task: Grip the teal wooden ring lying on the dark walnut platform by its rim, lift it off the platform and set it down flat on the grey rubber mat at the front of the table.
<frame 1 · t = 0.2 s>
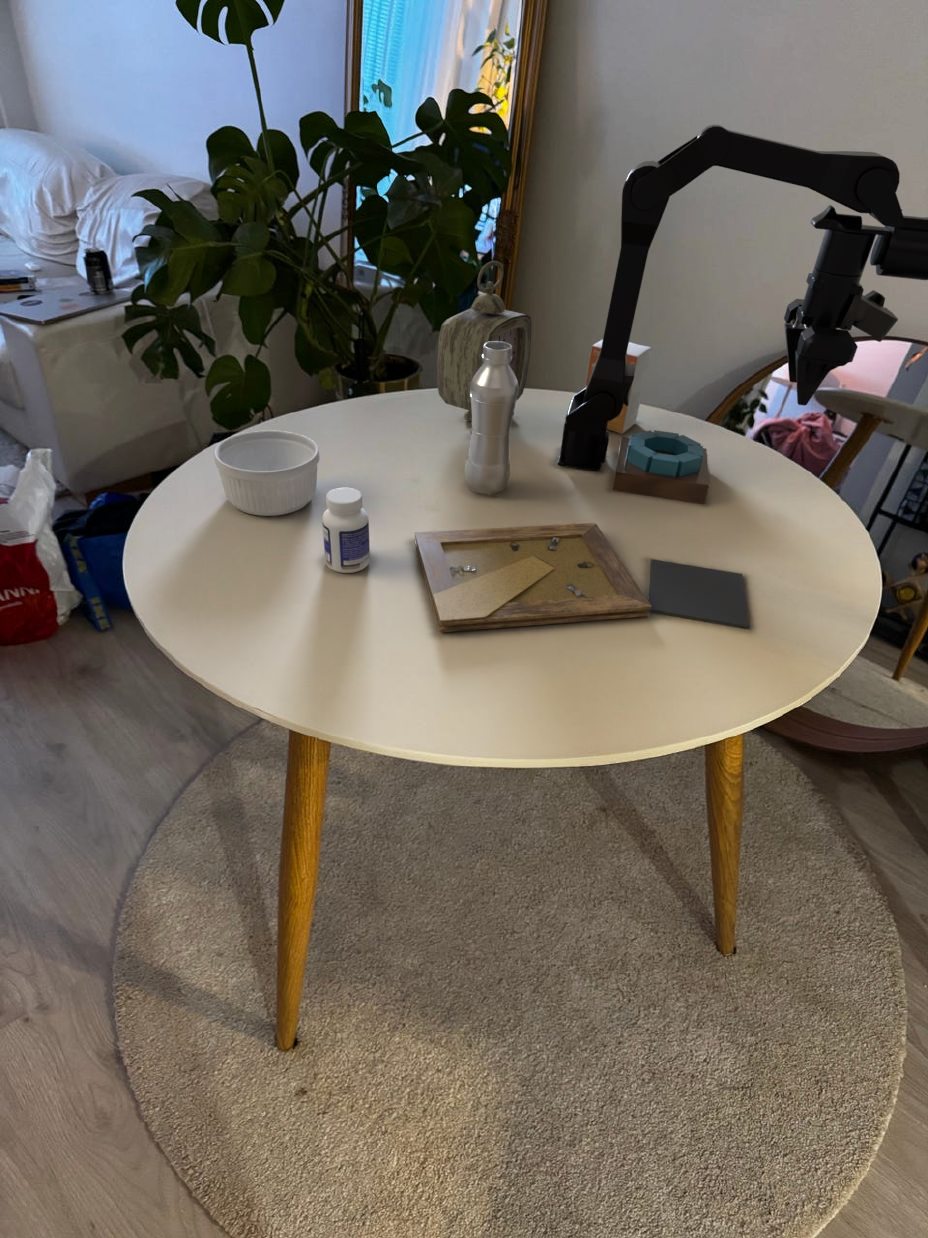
hand: (797, 392, 104), 14 cm above the table, tool pointing down, fingers open, 9 cm apart
ramekin: (272, 499, 102), on the table
mat: (696, 593, 89), on the table
picture frame: (524, 579, 89), on the table
ring: (662, 459, 111), point 3 cm above the table, touching platform
small box: (607, 423, 129), on the table
pill bottle: (347, 563, 90), on the table
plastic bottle: (486, 490, 107), on the table
platform: (658, 477, 113), on the table
tabletop clock: (478, 424, 126), on the table
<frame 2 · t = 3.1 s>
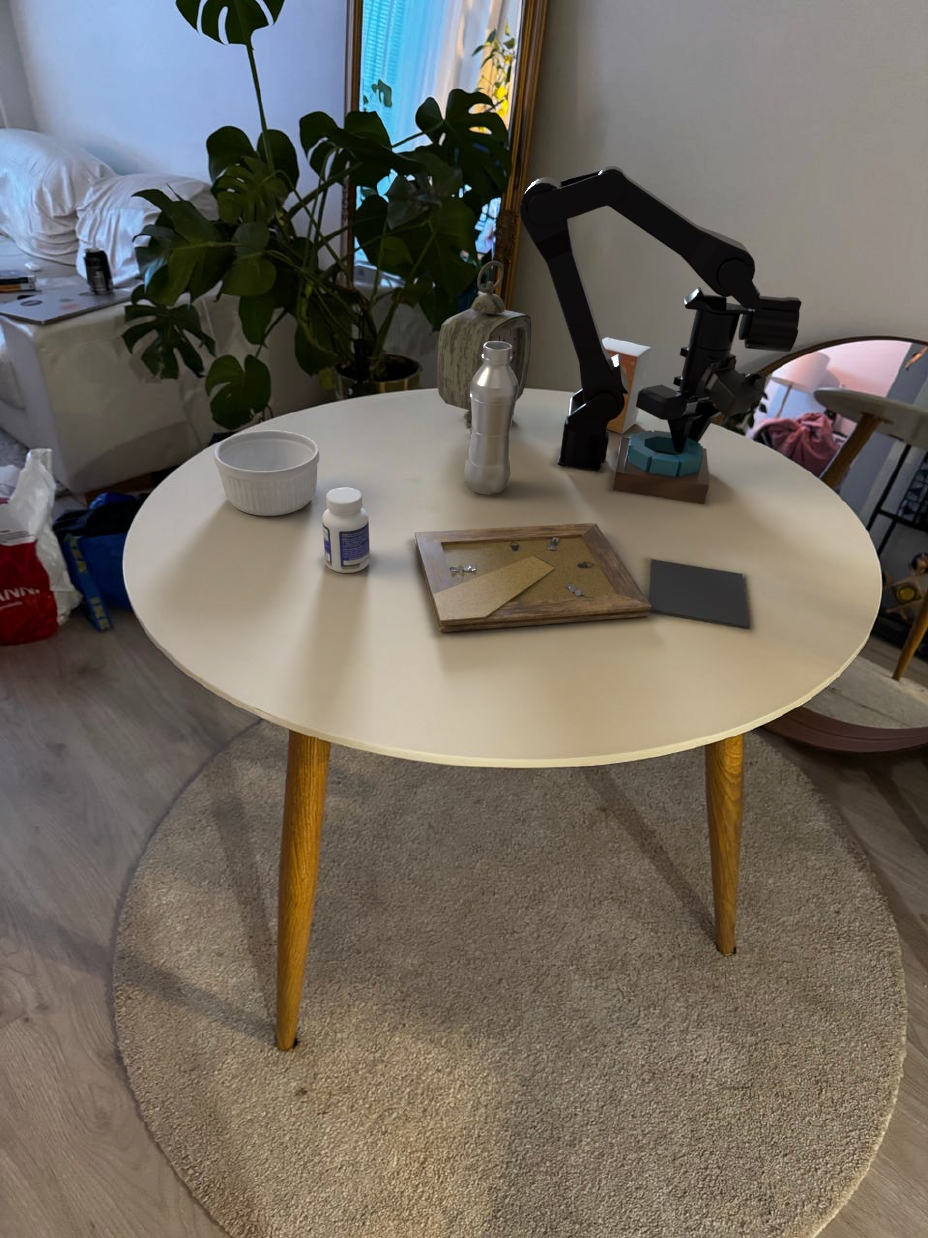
hand: (684, 450, 113), 4 cm above the table, tool pointing down, fingers closed on ring, 2 cm apart
ring: (663, 459, 111), point 3 cm above the table, touching gripper, platform
everything else where it was.
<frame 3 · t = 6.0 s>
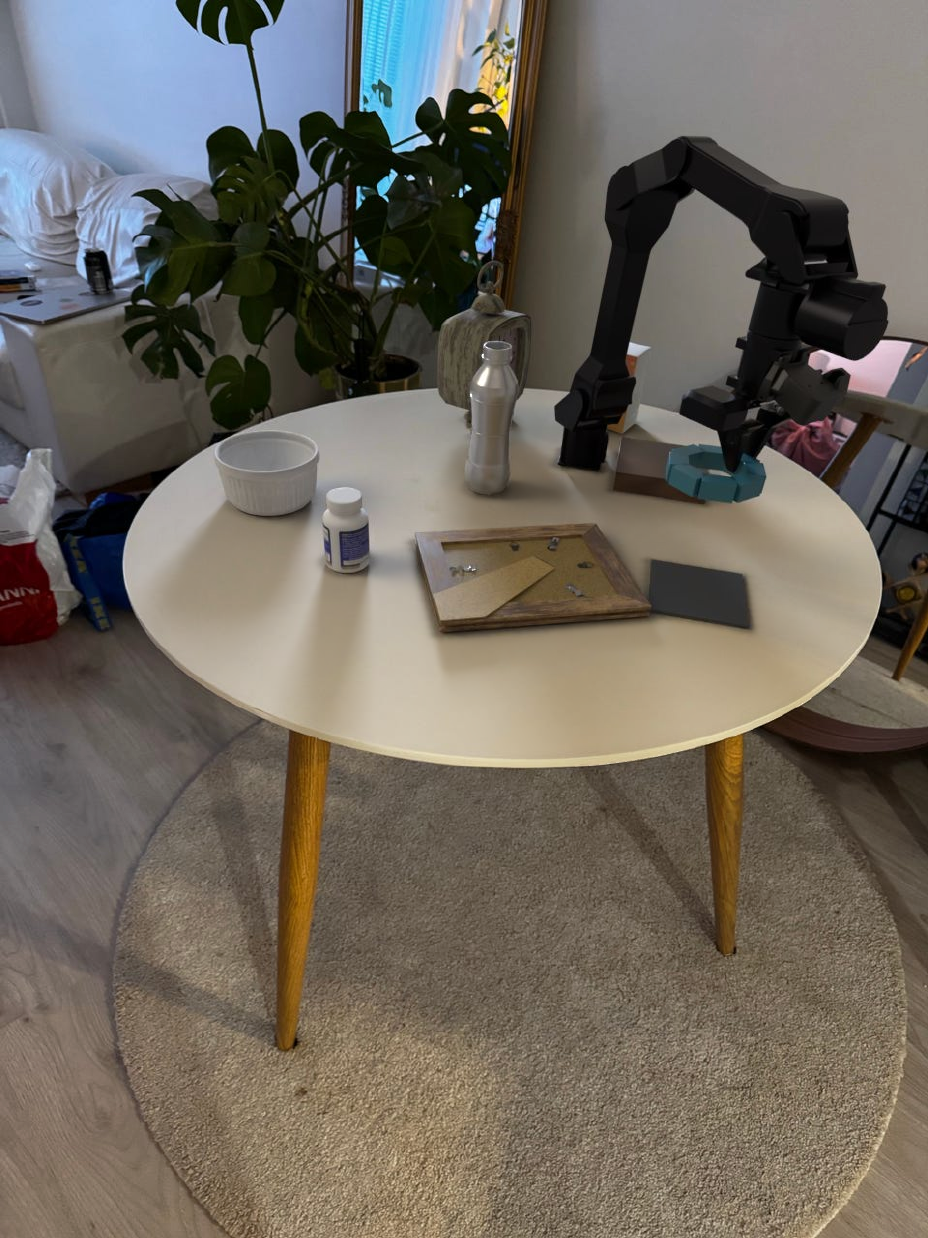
hand: (737, 469, 89), 12 cm above the table, tool pointing down, fingers closed on ring, 2 cm apart
ring: (712, 480, 87), point 11 cm above the table, touching gripper
everything else where it was.
when the fingers open (1 cm above the table, at t = 9.1 s): ring stays where it is, resting on mat.
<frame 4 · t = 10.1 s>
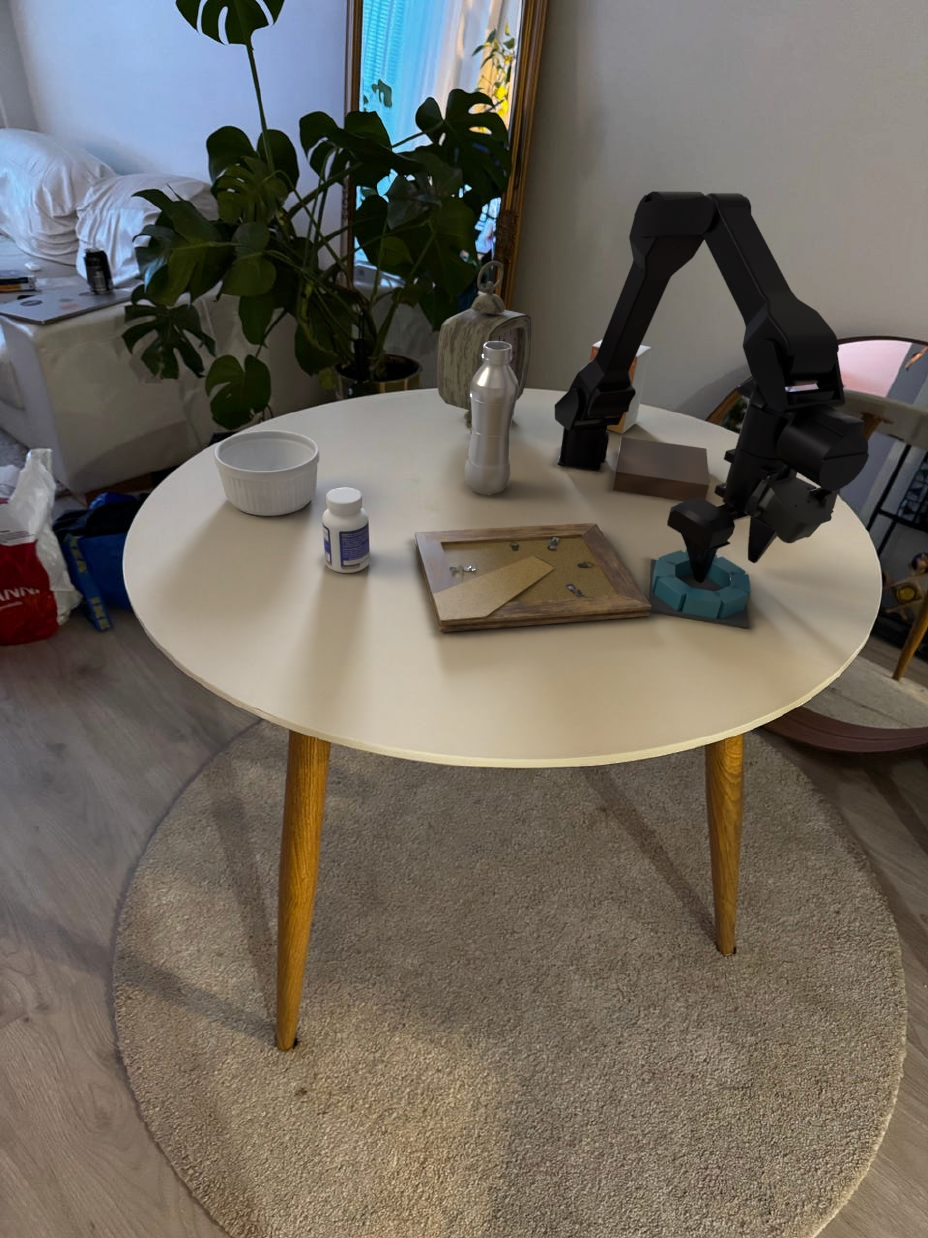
hand: (725, 571, 89), 2 cm above the table, tool pointing down, fingers open, 9 cm apart
ring: (698, 590, 88), resting on mat
everything else where it was.
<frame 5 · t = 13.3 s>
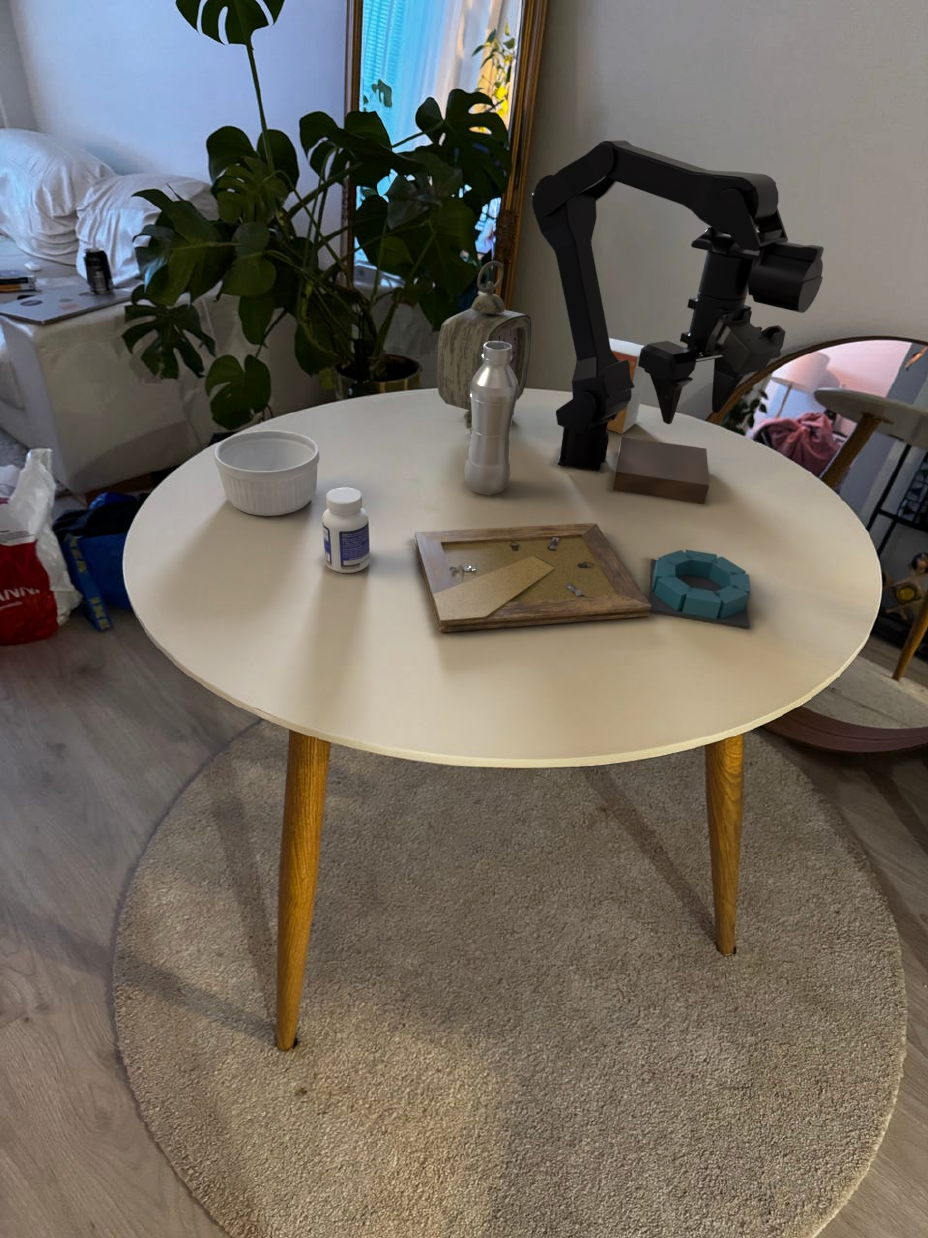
hand: (691, 417, 101), 12 cm above the table, tool pointing down, fingers open, 9 cm apart
nothing on the table moved.
at the end: ring 0.0 cm off-centre on the mat, point 0.4 cm above the mat's base; ring touching mat; ring tilted 0° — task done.
